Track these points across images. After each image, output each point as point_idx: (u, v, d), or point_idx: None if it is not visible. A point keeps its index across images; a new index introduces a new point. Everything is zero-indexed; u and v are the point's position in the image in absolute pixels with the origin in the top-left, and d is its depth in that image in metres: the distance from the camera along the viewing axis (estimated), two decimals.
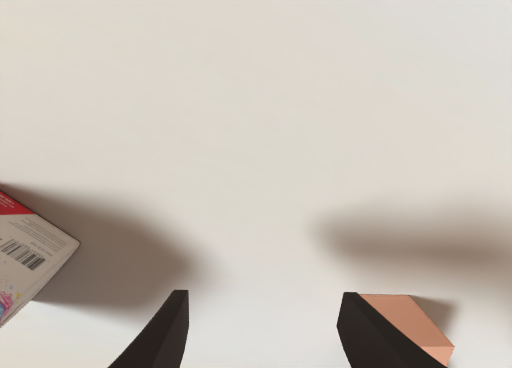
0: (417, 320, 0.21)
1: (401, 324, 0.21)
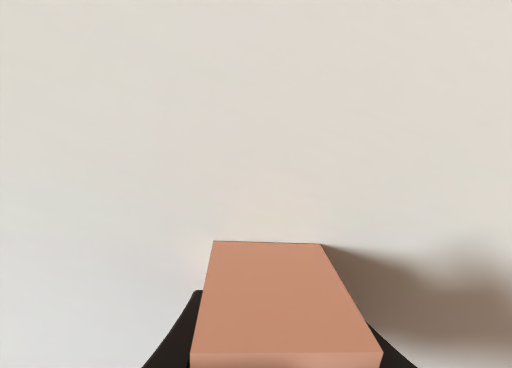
0: (311, 287, 0.09)
1: (264, 295, 0.08)
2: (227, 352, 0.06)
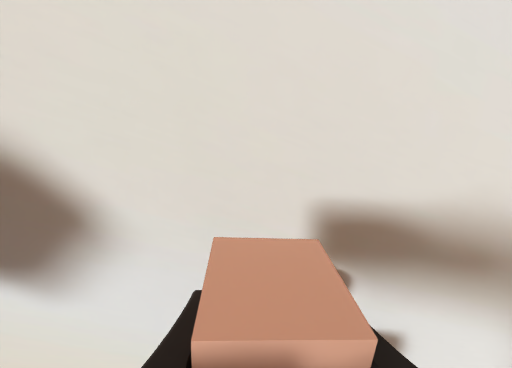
0: (308, 280, 0.09)
1: (263, 287, 0.08)
2: (227, 339, 0.06)
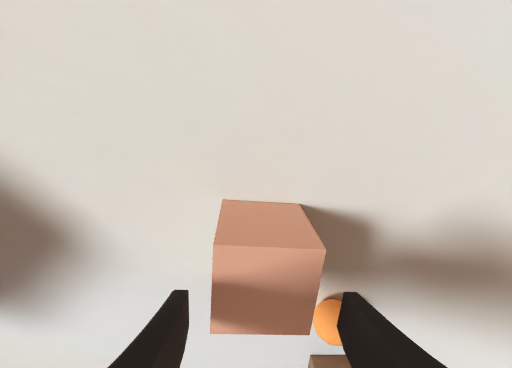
0: (288, 223, 0.13)
1: (257, 225, 0.13)
2: (234, 245, 0.11)
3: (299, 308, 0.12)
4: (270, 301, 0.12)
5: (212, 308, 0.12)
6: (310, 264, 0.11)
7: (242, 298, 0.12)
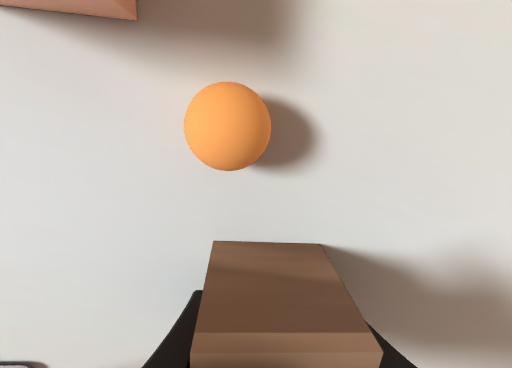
0: None
1: None
2: None
3: None
4: None
5: None
6: None
7: None
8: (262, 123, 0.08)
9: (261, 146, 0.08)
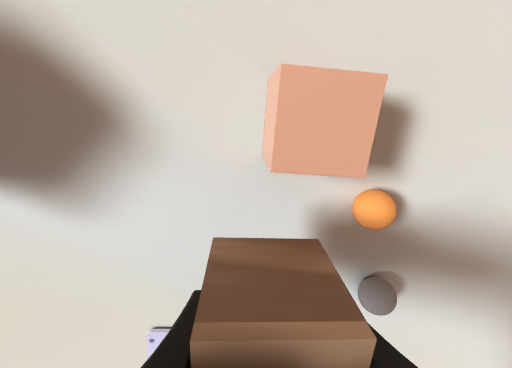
0: None
1: None
2: None
3: (357, 145, 0.12)
4: (330, 134, 0.12)
5: (275, 141, 0.12)
6: (371, 91, 0.12)
7: (304, 130, 0.12)
8: (396, 211, 0.17)
9: None
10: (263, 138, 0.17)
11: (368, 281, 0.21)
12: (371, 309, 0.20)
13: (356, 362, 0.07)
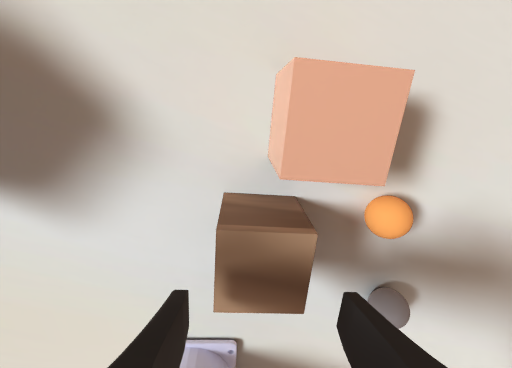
0: None
1: None
2: None
3: (377, 149, 0.11)
4: (347, 138, 0.11)
5: (285, 144, 0.11)
6: (395, 89, 0.10)
7: (318, 132, 0.11)
8: (412, 219, 0.16)
9: (409, 229, 0.16)
10: (269, 140, 0.16)
11: (379, 292, 0.19)
12: None
13: (307, 249, 0.13)
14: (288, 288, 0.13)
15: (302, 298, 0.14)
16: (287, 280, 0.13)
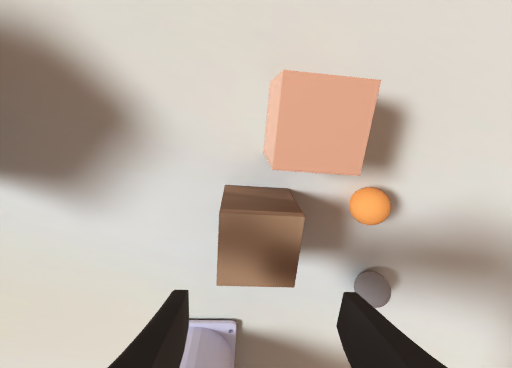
0: None
1: None
2: (301, 72, 0.12)
3: (353, 145, 0.13)
4: (328, 135, 0.13)
5: (276, 140, 0.13)
6: (366, 95, 0.13)
7: (304, 131, 0.13)
8: (390, 207, 0.18)
9: (387, 216, 0.18)
10: (265, 138, 0.18)
11: (364, 275, 0.22)
12: None
13: (296, 229, 0.15)
14: (280, 264, 0.16)
15: (292, 273, 0.16)
16: (279, 257, 0.15)
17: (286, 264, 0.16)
